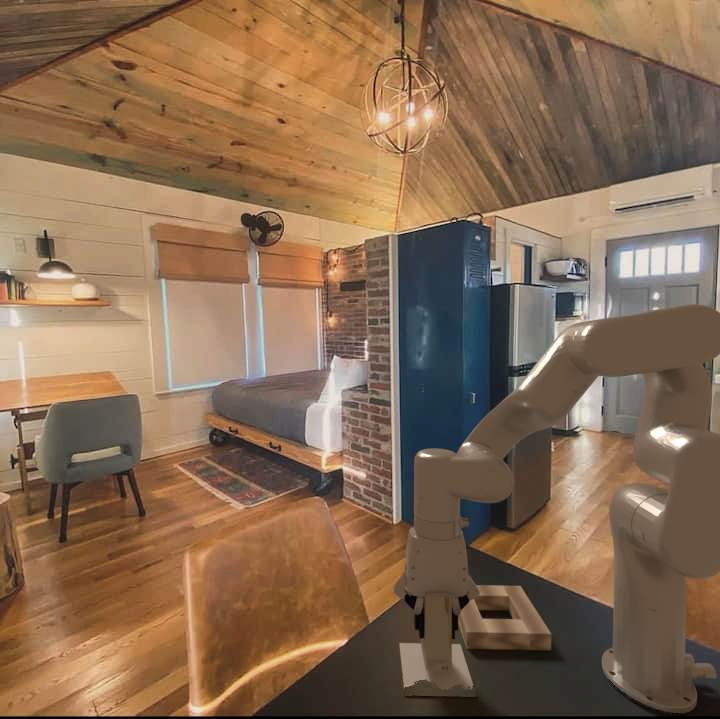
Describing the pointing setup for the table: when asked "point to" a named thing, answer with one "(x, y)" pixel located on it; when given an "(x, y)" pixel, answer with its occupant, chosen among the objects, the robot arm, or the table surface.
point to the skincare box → (437, 632)
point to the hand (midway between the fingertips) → (435, 632)
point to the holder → (503, 621)
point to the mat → (445, 679)
